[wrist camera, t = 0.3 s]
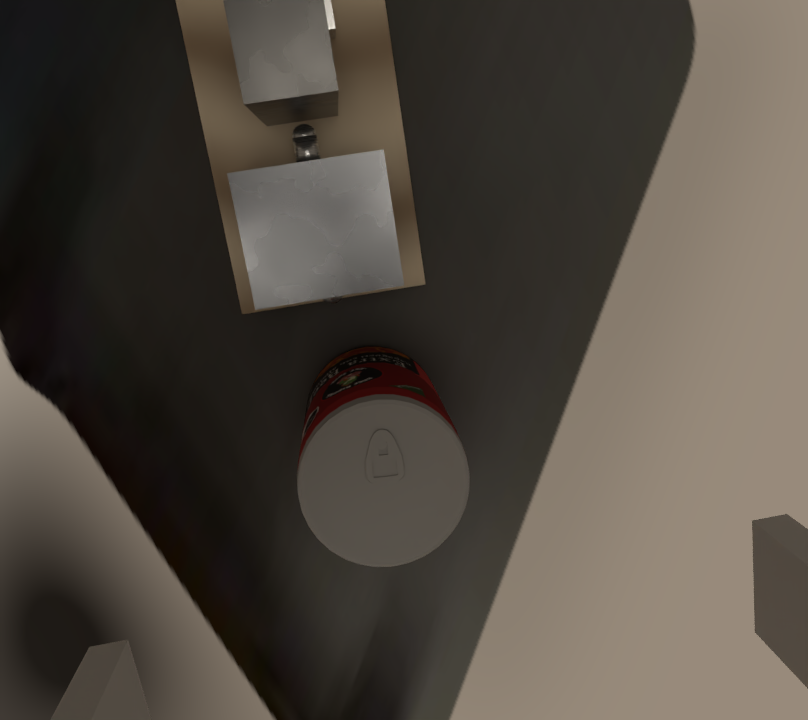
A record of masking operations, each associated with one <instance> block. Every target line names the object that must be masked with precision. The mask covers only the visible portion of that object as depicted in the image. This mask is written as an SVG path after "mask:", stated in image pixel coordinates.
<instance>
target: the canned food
mask: <svg viewBox="0 0 808 720" xmlns="http://www.w3.org/2000/svg"><path fill="white" fill-rule="evenodd" d="M469 481H470V475H469V469H468V463H467V457H466V453H465V451H464V448H463V445H462V443H461V440H460V438H459V436H458V433H457V431H456V429H455V427H454V425H453V423H452V421H451V419H450V417H449V415H448V413H447V411H446V410H445V408H444V406H443V404H442V402H441V400H440V398H439V396H438V394H437V392H436V390H435V388H434V386H433V384H432V382H431V381H430V379H429V378H428V376H427V374H426V373H425V371H424V370H423V369H422V368H421V367H420V366H419V365H418V364H417V363H416V362H415V361H413V360H412V359H410V358H409V357H407V356H406V355H404V354H402V353H400V352H397V351H395V350H393V349H388V348H383V347H363V348H358V349H353V350H351V351H349V352H346V353H344V354H342V355H340V356H338V357H337V358H336V359H334V360H333V361H331V362H330V363H329V364H328V365H327V366H326V367H325V368H324V369H323V370H322V371H321V372H320V374H319V375H318V377H317V378H316V380H315V382H314V383H313V386H312V388H311V391H310V393H309V397H308V403H307V408H306V415H305V421H304V428H303V434H302V441H301V447H300V454H299V460H298V470H297V491H298V497H299V501H300V506H301V510H302V513H303V515H304V517H305V519H306V522H307V524H308V526H309V528H310V529H311V530H312V532H313V533H314V534H315V536H316V537H317V538H318V540H319V541H321V542H322V543H323V544H324V545H325V546H326V547H327V548H328V549H329V550H330V551H332V552H334V553H335V554H337V555H339V556H340V557H342V558H344V559H346V560H349V561H352V562H354V563H357V564H360V565H366V566H373V567H392V566H397V565H402V564H406V563H410V562H412V561H414V560H417V559H419V558H421V557H424V556H425V555H427V554H428V553H430V552H431V551H433V550H434V549H436V548H437V547H438V546H439V545H441V544H442V543H443V542H444V541H445V540H446V539H447V538H448V537H449V536H450V534H451V533H452V531H453V530H454V529H455V527H456V526H457V524H458V523H459V521H460V519H461V516H462V514H463V512H464V510H465V507H466V503H467V499H468V495H469Z"/></svg>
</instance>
